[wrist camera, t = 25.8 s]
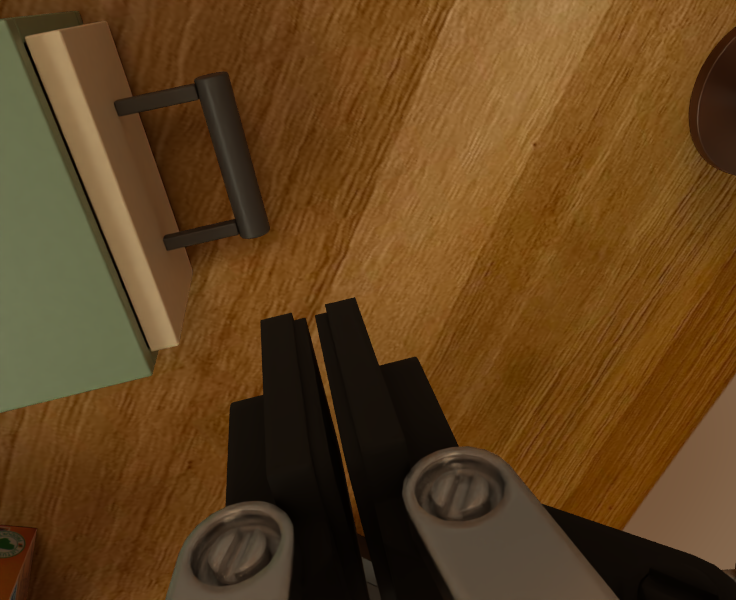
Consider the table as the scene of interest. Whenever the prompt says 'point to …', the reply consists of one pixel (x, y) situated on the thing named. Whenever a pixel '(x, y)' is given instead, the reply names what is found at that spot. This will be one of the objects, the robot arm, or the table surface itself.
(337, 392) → the robot arm
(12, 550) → the milk carton
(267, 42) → the table surface
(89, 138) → the drawer
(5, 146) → the cabinet
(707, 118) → the stand
